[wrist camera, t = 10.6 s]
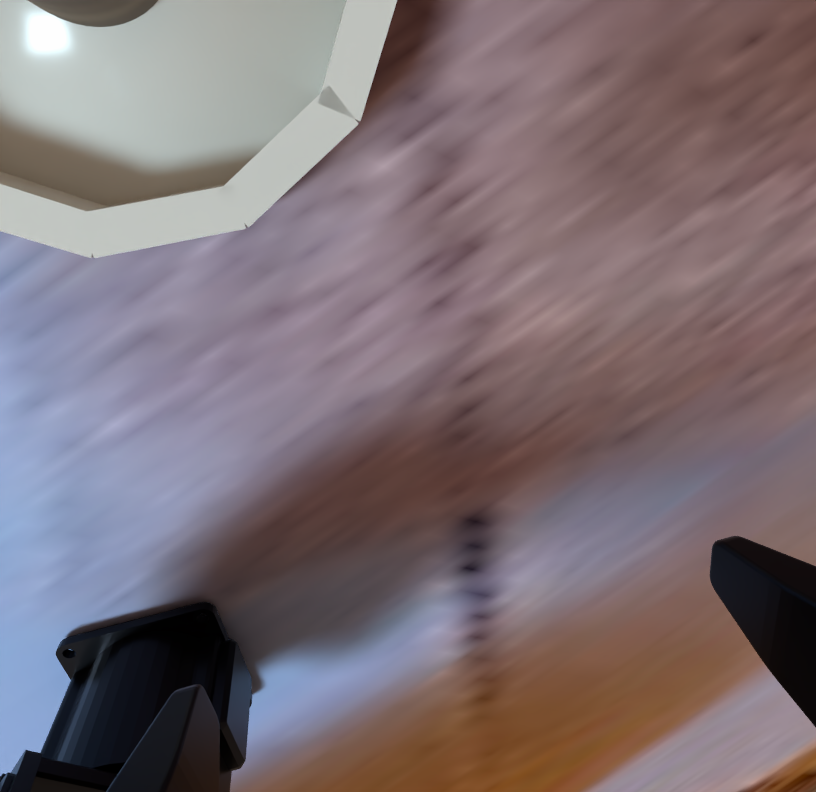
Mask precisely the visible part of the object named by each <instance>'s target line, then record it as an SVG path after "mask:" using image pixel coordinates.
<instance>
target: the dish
mask: <svg viewBox="0 0 816 792" xmlns="http://www.w3.org/2000/svg"><path fill="white" fill-rule="evenodd" d="M396 3H397V0H158V1H157V2H156V3H155V5H154V6H153V7H151V8H150V9H149V10H148V11H147V12H146V13H144V14H143V15H141V16H139V17H138V18H136V19H134V20H132V21H129V22H127V23H124V24H120V25H116V26H110V27H91V26H84V25H79V24H74V23H71V22H68V21H66V20H63V19H60V18H58V17H56V16H54V15H52V14H50V13H48V12H46V11H44V10H43V9H41V8H39V7H38V6H36V5H34V4H33V3H31V2H29V1H28V0H0V231H2V232H5V233H8V234H12V235H15V236H18V237H22V238H25V239H29V240H32V241H35V242H39V243H42V244H45V245H49V246H52V247H55V248H59V249H62V250H65V251H69V252H72V253H76V254H79V255H82V256H86V257H89V258H92V257H94V258H98V257H103V256H109V255H114V254H119V253H124V252H129V251H134V250H139V249H145V248H150V247H155V246H160V245H165V244H170V243H175V242H181V241H186V240H191V239H196V238H201V237H206V236H211V235H217V234H222V233H227V232H232V231H237V230H242V229H246V228H247V226H248V227H250V226H251V225H252V224H253V223H254V222H255V221H256V220H257V219H258V218H259V217H260V216H261V215H262V214H263V213H264V212H266V211H267V210H268V209H269V208H270V207H271V206H272V205H273V204H274V203H275V202H276V201H277V200H278V199H279V198H280V197H282V196H283V195H284V194H285V193H286V192H287V191H288V190H289V189H290V188H291V187H292V186H293V185H294V184H295V183H296V182H298V181H299V180H300V179H301V178H302V177H303V176H304V175H305V174H306V173H307V172H308V171H309V170H310V169H311V168H312V167H313V166H315V165H316V164H317V163H318V162H319V161H320V160H321V159H322V158H323V157H324V156H325V155H326V154H327V153H328V152H329V151H331V150H332V149H333V148H334V147H335V146H336V145H337V144H338V143H339V142H340V141H341V140H342V139H343V138H344V137H345V136H347V135H348V134H349V133H350V132H351V131H352V130H353V129H354V128H355V127H356V126H357V125H358V122H360V121H361V118H362V114H363V111H364V108H365V105H366V101H367V98H368V95H369V91H370V88H371V85H372V82H373V78H374V75H375V72H376V68H377V65H378V62H379V59H380V55H381V52H382V49H383V45H384V42H385V39H386V36H387V32H388V29H389V26H390V22H391V19H392V16H393V13H394V9H395V6H396Z"/></svg>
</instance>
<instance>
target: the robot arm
mask: <svg viewBox="0 0 816 792" xmlns="http://www.w3.org/2000/svg"><path fill="white" fill-rule="evenodd" d="M710 580H711V583H712V586H713V588H714V590H715V591H716V593H717V594H718V596H719V597H720V599H721V600H722V602H723V603H724V605H725V606H726V608H727V609H728V611H729V612H730V614H731V615H732V617H733V618H734V620H735V621H736V622H737V624H738V625H739V627H740V628H741V630H742V631H743V633H744V634H745V636H746V637H747V639H748V640H749V642H750V643H751V645H752V646H753V648H754V649H755V651H756V652H757V654H758V655H759V656H760V658H761V659H762V661H763V662H764V663H765V665H766V666H767V668H768V669H769V670H770V672H771V673H772V674H773V675H774V677H775V678H776V679H777V680H778V682H779V683H780V684H781V685H782V687H783V688H784V689H785V690H786V692H787V693H788V694H789V695H790V696H791V698H792V699H793V700H794V701H795V703H796V704H797V705H798V706H799V707H800V709H801V710H802V711H803V712H804V714H805V715H806V716H807V717H808V718H809V720H810V721H811V722H812V723H813V725H814V726H815V727H816V566H814V565H811V564H809V563H806V562H804V561H801V560H798V559H796V558H793V557H791V556H788V555H786V554H783V553H781V552H778V551H776V550H773V549H771V548H768V547H766V546H763V545H760V544H758V543H755V542H753V541H750V540H748V539H745V538H743V537H739V536H732V537H728V538H724V539H721V540H717V541H716V542H715V543H714V544H713V546H712V555H711V566H710ZM200 614H207V616H202V615H200ZM68 649H72V650H73V651H71V650H68ZM56 656H57V658H58V660H59V662H60V663H61V665H62V666H63V668H64V670H65V671H66V673H67V674H68V676H69V678H70V679H71V682H70V684H69V686H68V689H67V691H66V694H65V696H64V698H63V701H62V703H61V705H60V708H59V710H58V712H57V715H56V717H55V720H54V722H53V724H52V727H51V729H50V731H49V734H48V736H47V738H46V741H45V743H44V746H43V748H42V750H41V753H37V752H32V751H28V750H25V752H24V753H23V755H22V756H21V758H20V759H19V761H18V763H17V764H16V766H15V767H14V769H13V770H12V772H11V773H7V774H2V776H0V792H230V783H231V773H232V771H233V770H236V769H240V768H241V767H242V765H243V764H244V762H245V759H246V747H247V734H248V721H249V708H250V706H251V704H252V692H251V683H252V679H251V676H250V673H249V671H248V669H247V666H246V664H245V661H244V659H243V657H242V654H241V652H240V649H239V647H238V645H237V643H236V642H235V641H234V640H232V639H230V640H229V638H228V635H227V633H226V631H225V628H224V626H223V623H222V621H221V619H220V616H219V614H218V612H217V609H216V607H215V606H214V605H213V604H211V603H207V602H203V603H198V604H194V605H190V606H186V607H182V608H179V609H175V610H171V611H167V612H163V613H160V614H156V615H152V616H148V617H144V618H140V619H137V620H133V621H129V622H125V623H121V624H118V625H114V626H110V627H106V628H102V629H99V630H95V631H91V632H87V633H83V634H79V635H76V636H72V637H68V638H66V639H63V640H62V641H61V642H60V644H59V646H58V648H57V651H56Z"/></svg>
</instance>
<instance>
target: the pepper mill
mask: <svg viewBox="0 0 816 792" xmlns="http://www.w3.org/2000/svg"><path fill="white" fill-rule="evenodd" d="M28 1H29V2H31V3H33V4H34V5H36V6H38V7H39V8H41V9H43V10H44V11H46V12H48V13H50V14H52V15H54V16H56V17H58V18H60V19H63V20H66V21H68V22H71V23H74V24H79V25H84V26H91V27H110V26H116V25H120V24H124V23H127V22H129V21H132V20H134V19H136V18H138V17H139V16H141V15H143V14H144V13H146V12H147V11H148V10H149V9H150V8H151V7H153V6H154V5H155V3H156V2H157V1H158V0H28Z"/></svg>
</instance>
